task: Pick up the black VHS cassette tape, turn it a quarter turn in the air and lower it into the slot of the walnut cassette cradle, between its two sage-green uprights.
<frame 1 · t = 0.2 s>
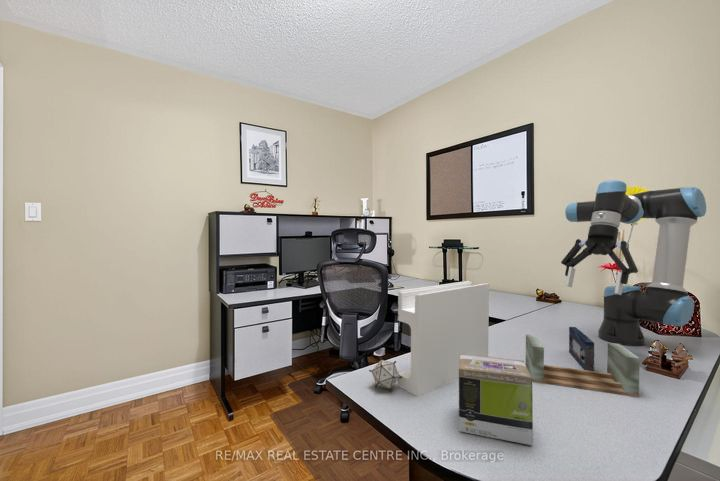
hand: (591, 290, 99), 27 cm above the table, tool tilted 15°, fingers open, 13 cm apart
vhs cassette tape: (580, 362, 109), on the table
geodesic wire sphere: (385, 388, 89), on the table
block: (446, 375, 98), on the table
cassette cradle: (576, 379, 95), on the table
tea box: (492, 427, 72), on the table
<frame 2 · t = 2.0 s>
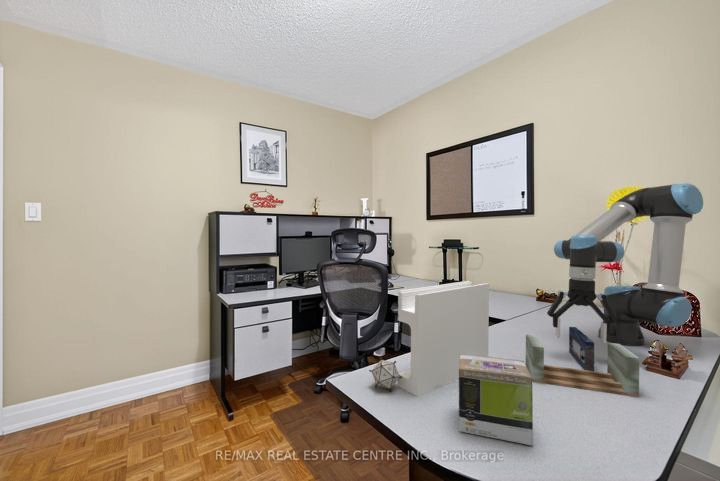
hand: (579, 339, 109), 8 cm above the table, tool pointing down, fingers open, 13 cm apart
nothing on the table moved.
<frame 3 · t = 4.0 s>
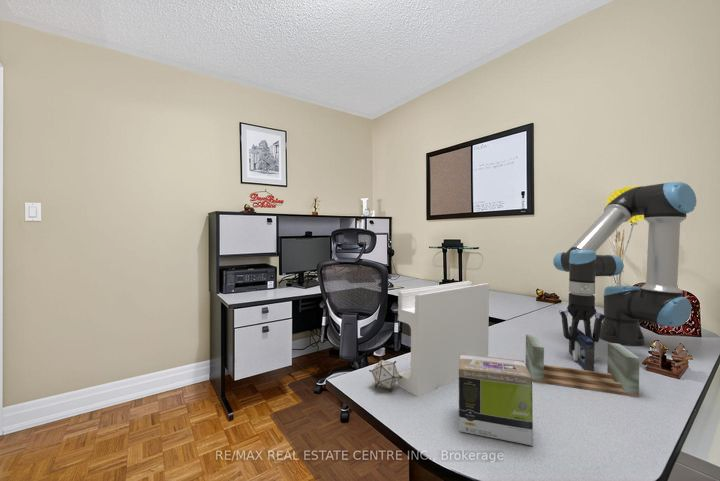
hand: (580, 359, 109), 1 cm above the table, tool pointing down, fingers closed on vhs cassette tape, 2 cm apart
vhs cassette tape: (580, 362, 109), on the table, touching gripper
everything else where it was.
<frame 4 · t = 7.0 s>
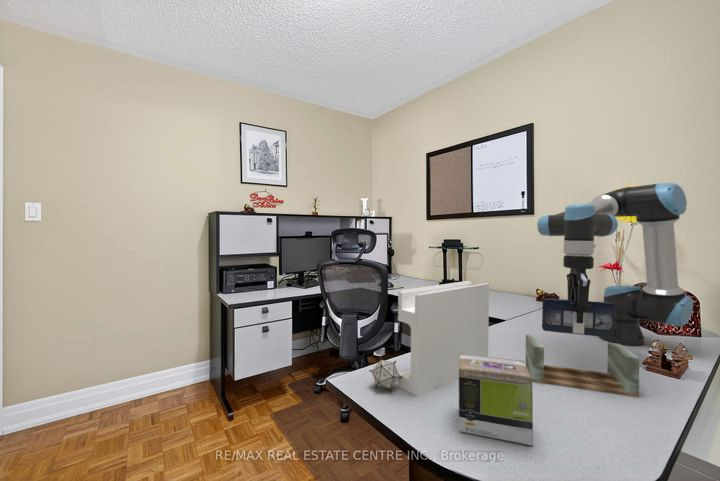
hand: (576, 331, 95), 15 cm above the table, tool pointing down, fingers closed on vhs cassette tape, 2 cm apart
vhs cassette tape: (576, 333, 95), point 14 cm above the table, touching gripper
everything else where it was.
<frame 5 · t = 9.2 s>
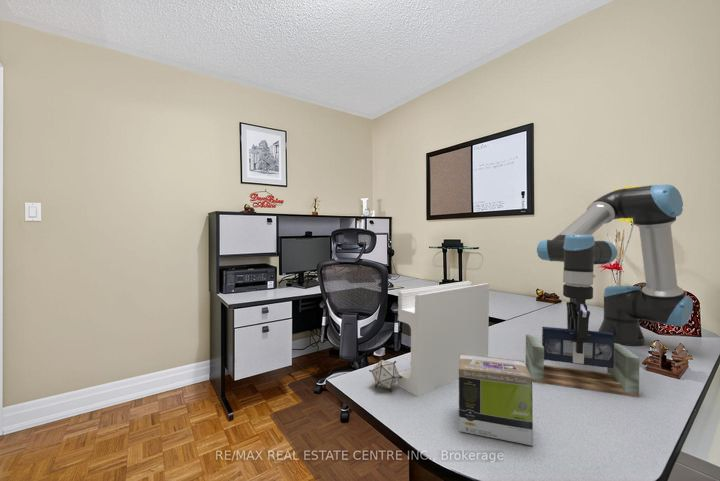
hand: (576, 360, 95), 6 cm above the table, tool pointing down, fingers closed on vhs cassette tape, 2 cm apart
vhs cassette tape: (576, 363, 95), point 5 cm above the table, touching gripper
everything else where it was.
when the fingers open (3 cm above the table, at t = 10.5 s): vhs cassette tape drops 2 cm, resting on cassette cradle.
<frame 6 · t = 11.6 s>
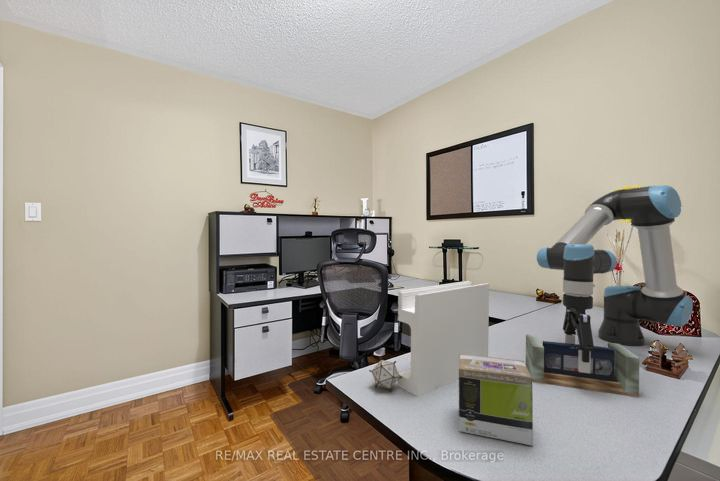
hand: (576, 363, 95), 5 cm above the table, tool pointing down, fingers open, 13 cm apart
vhs cassette tape: (576, 377, 95), point 1 cm above the table, touching cassette cradle
everything else where it was.
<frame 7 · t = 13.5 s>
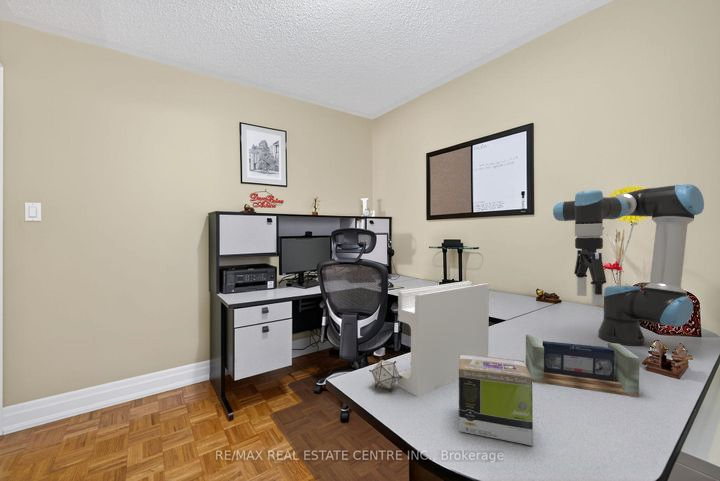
hand: (588, 299, 104), 23 cm above the table, tool pointing down, fingers open, 13 cm apart
nothing on the table moved.
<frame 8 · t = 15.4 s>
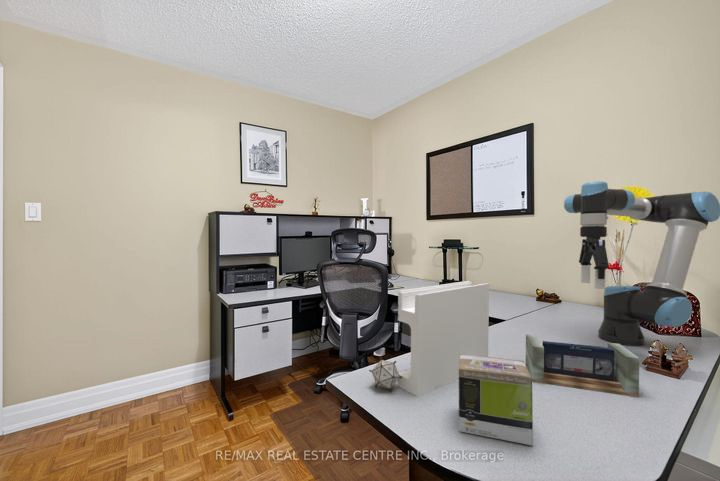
hand: (592, 285, 110), 27 cm above the table, tool pointing down, fingers open, 13 cm apart
nothing on the table moved.
at the end: vhs cassette tape 0.1 cm off-centre on the cassette cradle, point 0.6 cm above the cassette cradle's base; vhs cassette tape tilted 0°; the gripper is holding nothing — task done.
